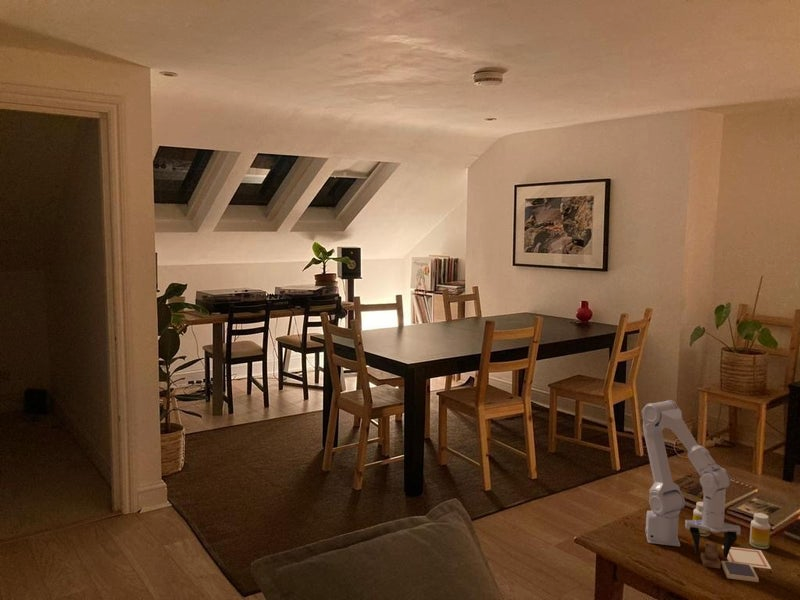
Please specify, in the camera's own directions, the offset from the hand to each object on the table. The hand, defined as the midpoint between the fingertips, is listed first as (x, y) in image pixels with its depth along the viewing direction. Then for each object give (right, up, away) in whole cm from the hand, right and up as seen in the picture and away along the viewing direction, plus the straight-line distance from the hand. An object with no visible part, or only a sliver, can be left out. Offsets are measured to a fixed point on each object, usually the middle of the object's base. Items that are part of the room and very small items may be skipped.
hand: (711, 553), depth 191 cm
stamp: (0, -3, 0) cm, 3 cm away
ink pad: (+6, -4, -5) cm, 8 cm away
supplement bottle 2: (+21, -2, +11) cm, 24 cm away
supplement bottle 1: (+6, -1, +19) cm, 20 cm away
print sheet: (+12, -3, +4) cm, 13 cm away
